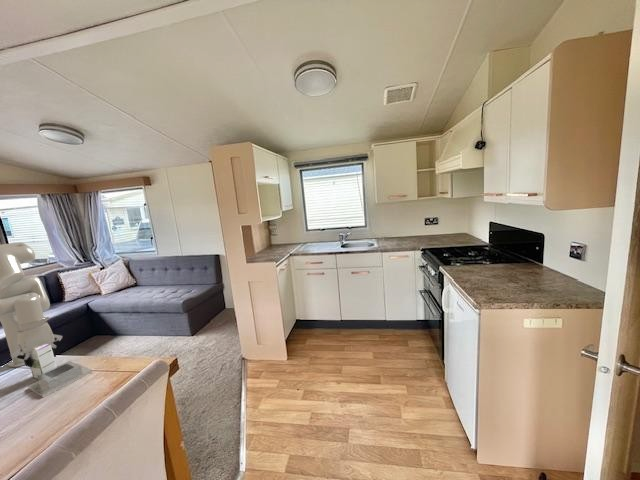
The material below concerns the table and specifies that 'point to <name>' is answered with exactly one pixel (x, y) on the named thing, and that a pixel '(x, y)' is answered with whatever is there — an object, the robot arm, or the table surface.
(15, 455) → the table surface
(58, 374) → the square socket
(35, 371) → the syrup box
